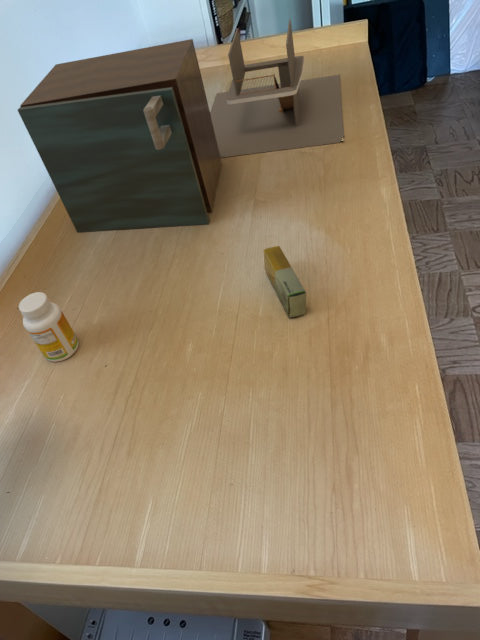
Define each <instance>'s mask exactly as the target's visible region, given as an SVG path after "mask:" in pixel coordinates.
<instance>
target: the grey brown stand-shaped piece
mask: <svg viewBox="0 0 480 640" xmlns="http://www.w3.org/2000/svg"><path fill="white" fill-rule="evenodd" d="M285 40H286V42H285V48H286V55H287V57H285V58H278V59H273V60H265V61H261V62H254V63H249V64H245V60H244V54H243V48H242V44H241V37H240V32H239V28H236V29H235V32H234V35H233V38H232V41H231V44H230V46H229V50H228V53H227V57H228V62H229V66H230V71H231V76H232V80H231V83H230V86H229V90H228V91H223V92H216V94H215V97H214V100H213V104H212V106H211V110H210V115H211V119H212V123H213V128H214V132H215V136H216V140H217V145H218V149H219V153H220V157H221V159H222V158H229V157H236V156H244V155H252V154H260V153H268V152H276V151H283V150H289V149H290V150H292V149H299V148H306V147H316V146H323V145H330V144H331V145H332V144H339V143H341V142H340V141H341V140H342V138H343V136H344V138H343V139H344V140H345V128H344V127H345V126H344V114H343V101H342V100H343V99H342V88H341V87H342V84H341V74H334V75H333V74H332V75H326V76H321V77H314V78H308V79H303V72H304V64H305V56H304V55H295V46H294V37H293V28H292V20H291V18H289V19H288V25H287V33H286V39H285ZM273 68H277V69H278V76H279V83H278V80H277V77H276V75H275V73H273V74H269V75H263V76H256V77H251V78H245V76H246V73H248V72H255V71H261V70H268V69H273ZM272 77H273V79H272ZM254 80H255V81H254ZM252 85H253V86H252Z"/></svg>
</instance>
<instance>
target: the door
mask: <svg viewBox="0 0 480 640" xmlns="http://www.w3.org/2000/svg"><path fill="white" fill-rule="evenodd" d="M17 113H18V114H19V117H20V118H21V120H22V122H23V125H24V127H25V129H26V130H27V133H28V135H29V137H30V139H31V141H32V143H33V146H34V147H35V150H36V151H37V153H38V155H39V158H40V159H41V161H42V164H43V166H44V167H45V169H46V172H47V174H48V175H49V178H50V180H51V182H52V184H53V186H54V188H55V190H56V192H57V194H58V197H59V198H60V200H61V203H62V204H63V206H64V209H65V211H66V212H67V215H68V217H69V219H70V221H71V223H72V225H73V227H74V229H75V231H76V233H88V232H107V231H122V230H123V231H124V230H138V229H152V228H170V227H171V228H172V227H187V226H188V227H189V226H202V225H209V224H210V218H209V213H207V210H206V206H205V203H204V199H203V195H202V192H201V188H200V184H199V181H198V177H197V174H196V170H195V166H194V163H193V159H192V155H191V152H190V148H189V145H188V141H187V137H186V134H185V130H184V126H183V123H182V119H181V116H180V112H179V108H178V105H177V101H176V98H175V94H174V90H173V87H169V88H162V89H154V90H147V91H139V92H132V93H124V94H117V95H109V96H101V97H94V98H86V99H79V100H71V101H64V102H56V103H49V104H41V105H34V106H26V107H20V106H19V108H17Z"/></svg>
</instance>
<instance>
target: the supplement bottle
mask: <svg viewBox="0 0 480 640" xmlns="http://www.w3.org/2000/svg"><path fill="white" fill-rule="evenodd" d="M18 311H19V312H20V313H21V315H22V325H23V327H24V329H25V330H26V332H27V333H28V335H29V336H30V337H31V339H32V341H33V342H34V344H35V345H36V346H37V348H38V349H39V351H40V352H41V354H42V356H43V357H44V358H45V359H46V360H47V361H49V362H54V363H55V362H56V363H57V362H62V361H64V360H67V359H68V358H71V356H72V355H74V354H75V353H76V351H77V349H78V348H79V344H80V342H79V338H78V336H77V334H76V333H75V331H74V329H73V328H72V326H71V324H70V322H69V321H68V320H67V317H66V315H65V314H64V312H63V311H62V309H61V307H60V306H59V305H58V304H57V303H54V302H52V301H50V299H49V297H48V296H47V294H46V293H44V292H42V291H37V292H32V293H30V294H28V295H26V296H24V298H22V299H21V300H20V302H19V304H18Z"/></svg>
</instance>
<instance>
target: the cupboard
mask: <svg viewBox="0 0 480 640" xmlns="http://www.w3.org/2000/svg"><path fill="white" fill-rule="evenodd" d="M169 87H173V90H174V94H175V98H176V101H177V105H178V108H179V112H180V116H181V119H182V123H183V126H184V130H185V134H186V137H187V141H188V145H189V148H190V152H191V155H192V159H193V163H194V166H195V170H196V174H197V177H198V181H199V184H200V188H201V192H202V195H203V199H204V203H205V206H206V210H207V213H208V214H212V213H213V210H214V205H215V200H216V195H217V191H218V185H219V182H220V181H219V180H220V177H221V172H222V167H223V162H222V158H221V157H220V153H219V149H218V145H217V140H216V136H215V132H214V128H213V123H212V119H211V115H210V112H211V110H210V107H209V102H208V97H207V93H206V90H205V86H204V82H203V77H202V72H201V69H200V64H199V60H198V55H197V52H196V47H195V44H194V39H193V38H191V39H185V40H180V41H174V42H169V43H164V44H157V45H153V46H148V47H141V48H137V49H131V50H126V51H121V52H116V53H115V52H114V53H110V54H105V55H100V56H95V57H88V58H82V59H78V60H72V61H67V62H61V63H57V64H55V65H54V66H53V67H52V68H51V69H50V70H49V71H48V73H47V74H46V75H45V76H44V77H43V79H41V81H39V83H38V84H37V85H36V86H35V88H34V89H33V90H32V91H31V92H30V93H29V94H28V96H27V97H26V98H25V99H24V100H23V102H22V103H21V104H20V106H19V108H20V107H26V106H34V105H41V104H49V103H56V102H64V101H71V100H79V99H86V98H94V97H101V96H109V95H117V94H124V93H132V92H139V91H147V90H154V89H162V88H169Z"/></svg>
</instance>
